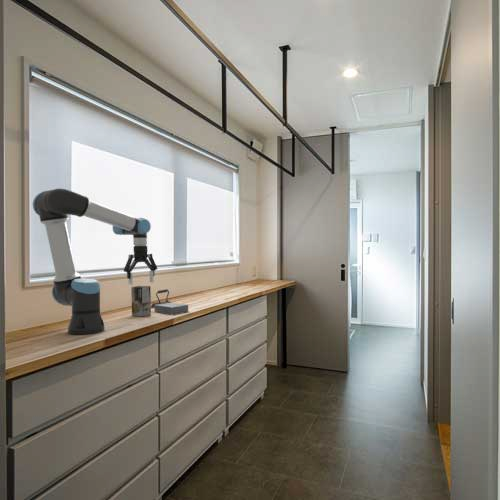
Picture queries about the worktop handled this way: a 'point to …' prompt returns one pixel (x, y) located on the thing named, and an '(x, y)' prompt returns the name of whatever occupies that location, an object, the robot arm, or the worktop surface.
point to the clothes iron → (159, 300)
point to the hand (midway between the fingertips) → (141, 283)
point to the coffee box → (141, 300)
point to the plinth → (171, 308)
